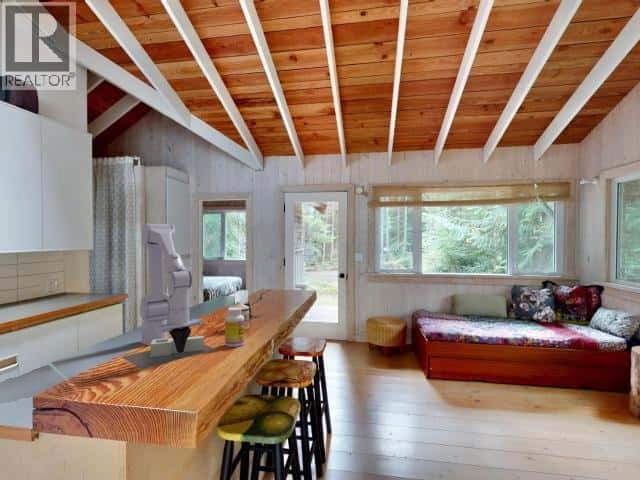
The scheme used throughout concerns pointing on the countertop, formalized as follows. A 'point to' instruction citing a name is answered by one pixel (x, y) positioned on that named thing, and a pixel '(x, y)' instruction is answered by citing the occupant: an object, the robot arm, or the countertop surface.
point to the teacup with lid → (243, 313)
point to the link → (168, 346)
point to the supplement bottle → (234, 328)
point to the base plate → (161, 357)
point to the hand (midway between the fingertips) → (180, 351)
